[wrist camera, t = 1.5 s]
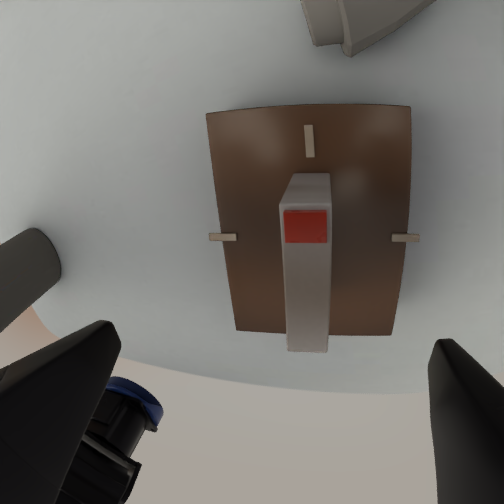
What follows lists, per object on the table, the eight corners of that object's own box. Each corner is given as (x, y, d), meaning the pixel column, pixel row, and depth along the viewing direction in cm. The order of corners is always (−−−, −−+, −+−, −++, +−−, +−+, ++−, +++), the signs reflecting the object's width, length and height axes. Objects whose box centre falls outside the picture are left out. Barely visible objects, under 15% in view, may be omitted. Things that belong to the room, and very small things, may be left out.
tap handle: (329, 291, 16) (327, 357, 11) (298, 290, 16) (285, 356, 12) (329, 172, 13) (332, 205, 9) (293, 173, 13) (277, 206, 9)
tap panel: (393, 305, 18) (401, 337, 16) (239, 301, 21) (225, 331, 18) (406, 106, 13) (425, 107, 11) (214, 113, 16) (191, 115, 13)
